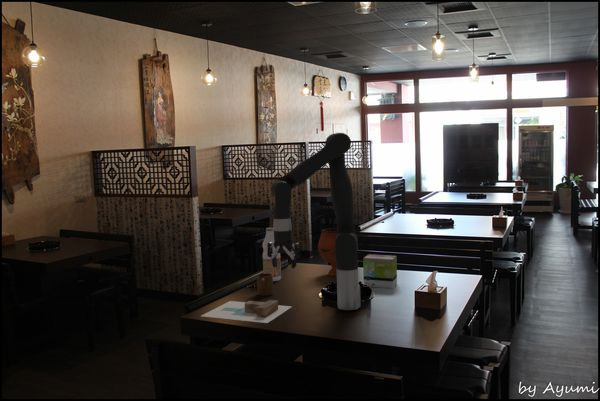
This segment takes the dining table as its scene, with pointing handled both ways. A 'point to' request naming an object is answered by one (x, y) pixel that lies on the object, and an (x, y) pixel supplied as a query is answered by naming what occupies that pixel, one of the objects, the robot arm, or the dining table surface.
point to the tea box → (380, 271)
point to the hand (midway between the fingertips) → (284, 267)
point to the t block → (261, 307)
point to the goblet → (328, 248)
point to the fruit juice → (267, 260)
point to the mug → (265, 284)
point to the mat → (242, 312)
